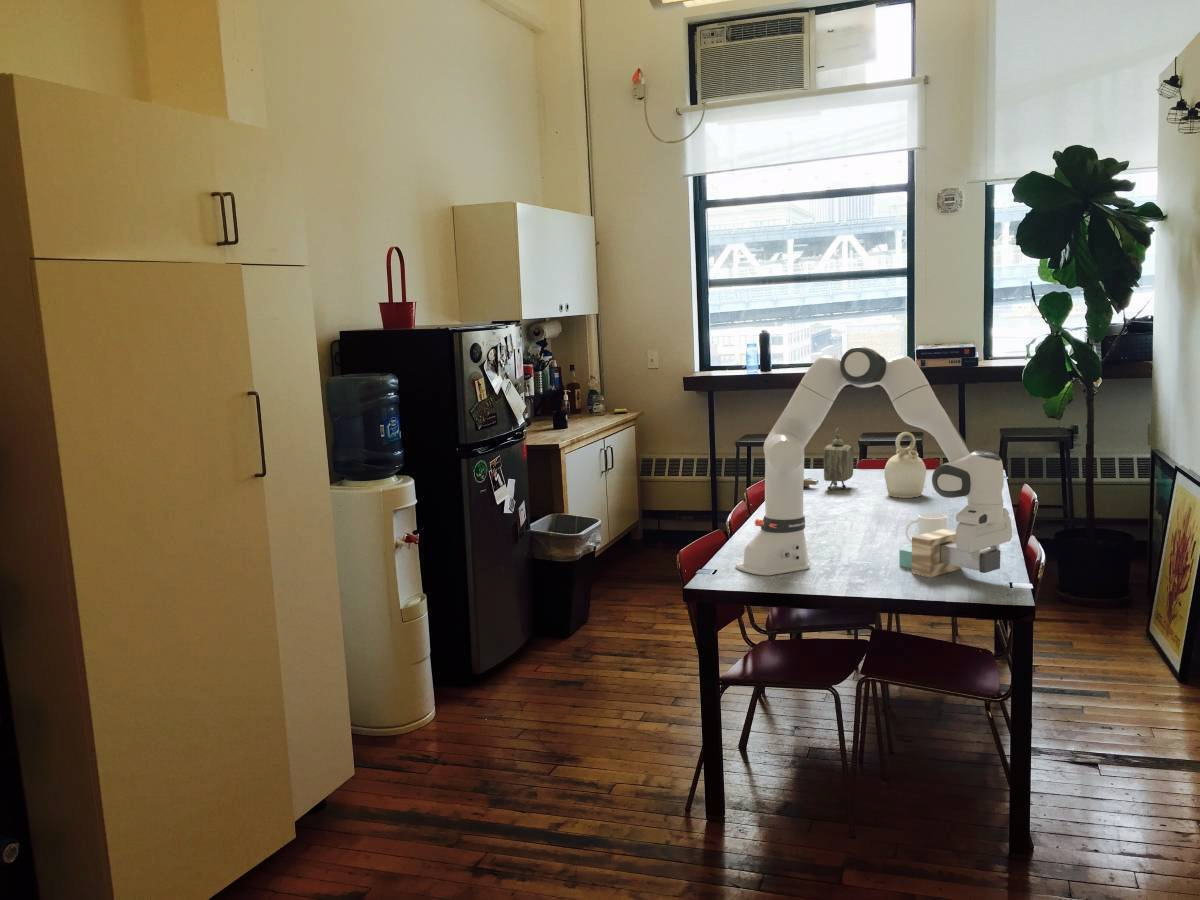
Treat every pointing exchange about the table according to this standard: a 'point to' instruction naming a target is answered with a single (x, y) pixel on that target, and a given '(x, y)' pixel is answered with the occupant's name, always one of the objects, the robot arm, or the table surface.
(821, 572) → the table surface
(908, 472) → the jug
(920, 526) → the mug
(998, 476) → the robot arm
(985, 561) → the shaft
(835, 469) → the tabletop clock
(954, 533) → the bearing block
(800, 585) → the table surface
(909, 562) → the block
